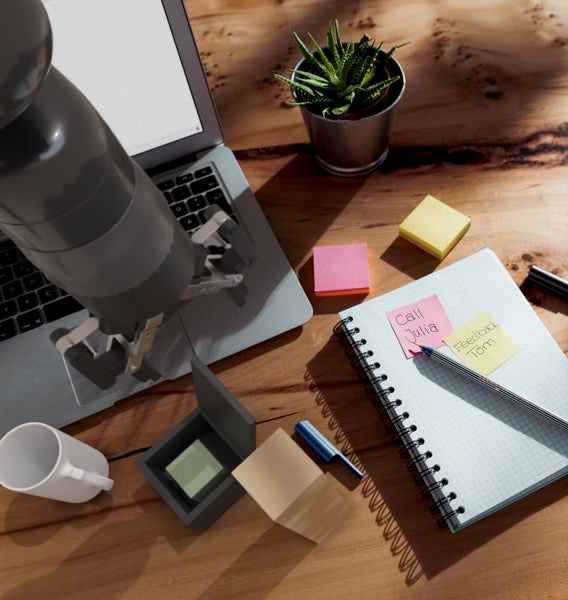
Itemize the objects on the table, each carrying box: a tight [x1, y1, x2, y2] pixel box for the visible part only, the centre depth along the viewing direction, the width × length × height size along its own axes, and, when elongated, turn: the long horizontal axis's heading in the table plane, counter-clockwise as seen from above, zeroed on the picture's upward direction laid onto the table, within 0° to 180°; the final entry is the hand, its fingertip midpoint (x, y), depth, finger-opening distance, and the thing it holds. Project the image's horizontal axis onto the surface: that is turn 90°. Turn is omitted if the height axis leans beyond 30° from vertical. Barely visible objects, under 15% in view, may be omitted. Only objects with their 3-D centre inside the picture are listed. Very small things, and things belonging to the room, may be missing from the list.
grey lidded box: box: [133, 405, 248, 532], centre depth 73 cm, size 9×9×7 cm
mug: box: [0, 421, 115, 504], centre depth 70 cm, size 10×7×12 cm, turn 71°
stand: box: [231, 426, 352, 545], centre depth 62 cm, size 5×5×26 cm
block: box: [165, 439, 232, 502], centre depth 73 cm, size 4×4×4 cm
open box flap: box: [189, 355, 257, 458], centre depth 67 cm, size 10×9×1 cm
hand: (194, 333), depth 52 cm, fingers open, 8 cm apart
